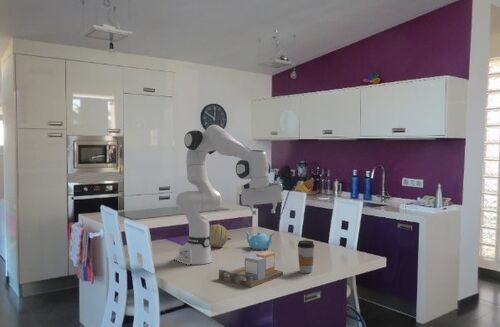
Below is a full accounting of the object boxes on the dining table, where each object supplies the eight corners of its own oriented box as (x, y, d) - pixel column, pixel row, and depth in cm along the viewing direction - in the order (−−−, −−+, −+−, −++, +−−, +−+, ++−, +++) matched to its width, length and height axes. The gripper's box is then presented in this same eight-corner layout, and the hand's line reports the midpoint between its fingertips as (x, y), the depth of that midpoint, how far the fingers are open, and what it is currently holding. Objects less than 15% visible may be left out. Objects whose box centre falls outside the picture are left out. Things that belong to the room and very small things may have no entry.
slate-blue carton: (251, 274, 200) (251, 255, 200) (265, 277, 195) (265, 258, 195) (244, 276, 196) (244, 257, 196) (257, 280, 191) (257, 260, 191)
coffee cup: (317, 272, 209) (317, 242, 209) (302, 274, 207) (302, 244, 206) (309, 268, 217) (309, 239, 217) (294, 270, 214) (294, 240, 214)
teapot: (266, 245, 275) (266, 229, 274) (274, 250, 260) (274, 233, 260) (244, 246, 270) (244, 230, 270) (252, 251, 256) (252, 234, 256)
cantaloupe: (202, 249, 262) (202, 225, 262) (207, 244, 277) (207, 221, 276) (226, 250, 260) (225, 225, 260) (229, 245, 275) (229, 222, 274)
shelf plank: (218, 279, 199) (218, 269, 199) (251, 268, 218) (251, 259, 218) (250, 287, 186) (250, 277, 186) (282, 275, 205) (282, 266, 205)
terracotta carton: (256, 272, 203) (256, 254, 203) (266, 269, 209) (266, 251, 209) (265, 274, 199) (265, 255, 199) (275, 271, 206) (275, 252, 205)
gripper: (284, 181, 195) (287, 211, 194) (243, 186, 203) (246, 215, 202) (279, 181, 190) (282, 212, 188) (238, 186, 197) (241, 215, 196)
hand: (263, 213), depth 195 cm, fingers open, 8 cm apart
